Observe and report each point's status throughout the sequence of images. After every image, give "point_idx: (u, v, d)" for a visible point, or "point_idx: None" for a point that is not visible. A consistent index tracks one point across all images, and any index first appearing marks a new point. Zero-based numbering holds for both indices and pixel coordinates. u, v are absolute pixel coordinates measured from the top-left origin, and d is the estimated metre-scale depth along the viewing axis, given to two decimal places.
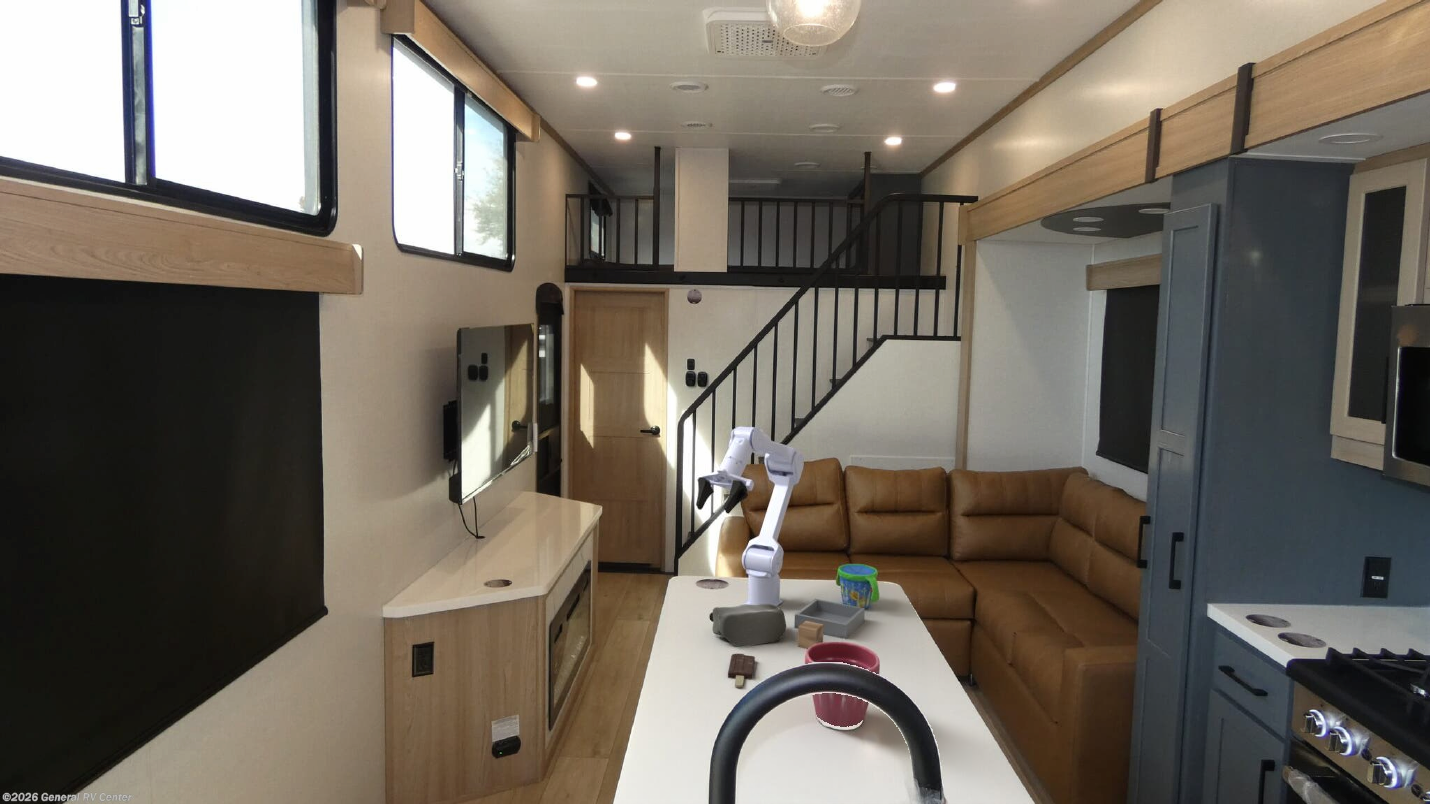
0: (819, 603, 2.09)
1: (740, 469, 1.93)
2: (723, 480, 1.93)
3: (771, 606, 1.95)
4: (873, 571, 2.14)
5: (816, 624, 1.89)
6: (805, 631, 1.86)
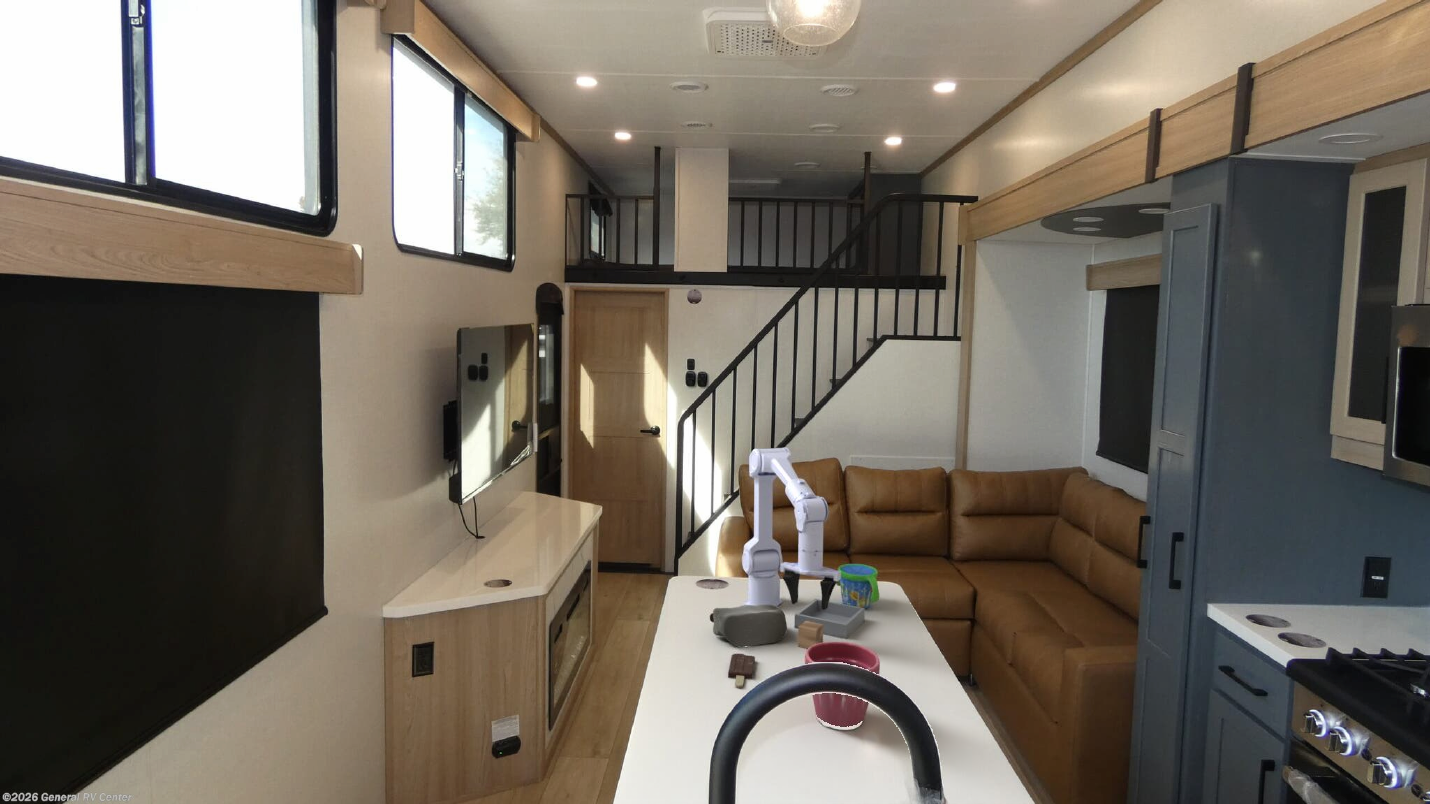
0: (819, 603, 2.09)
1: (820, 557, 1.84)
2: None
3: (771, 606, 1.94)
4: (873, 571, 2.14)
5: (816, 624, 1.89)
6: (805, 631, 1.86)
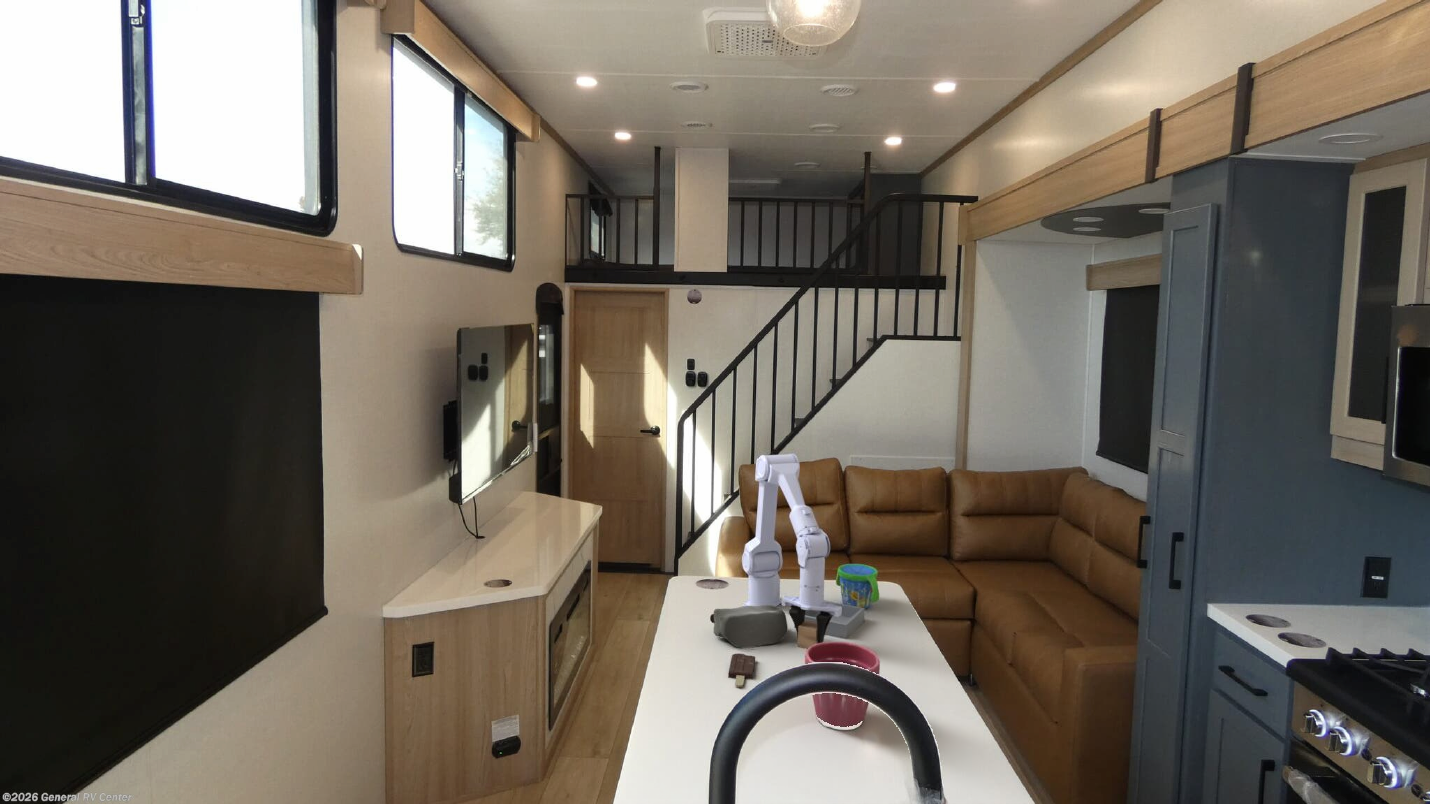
0: None
1: (821, 593, 1.85)
2: None
3: (772, 607, 1.94)
4: (873, 571, 2.14)
5: (816, 623, 1.89)
6: (805, 631, 1.86)
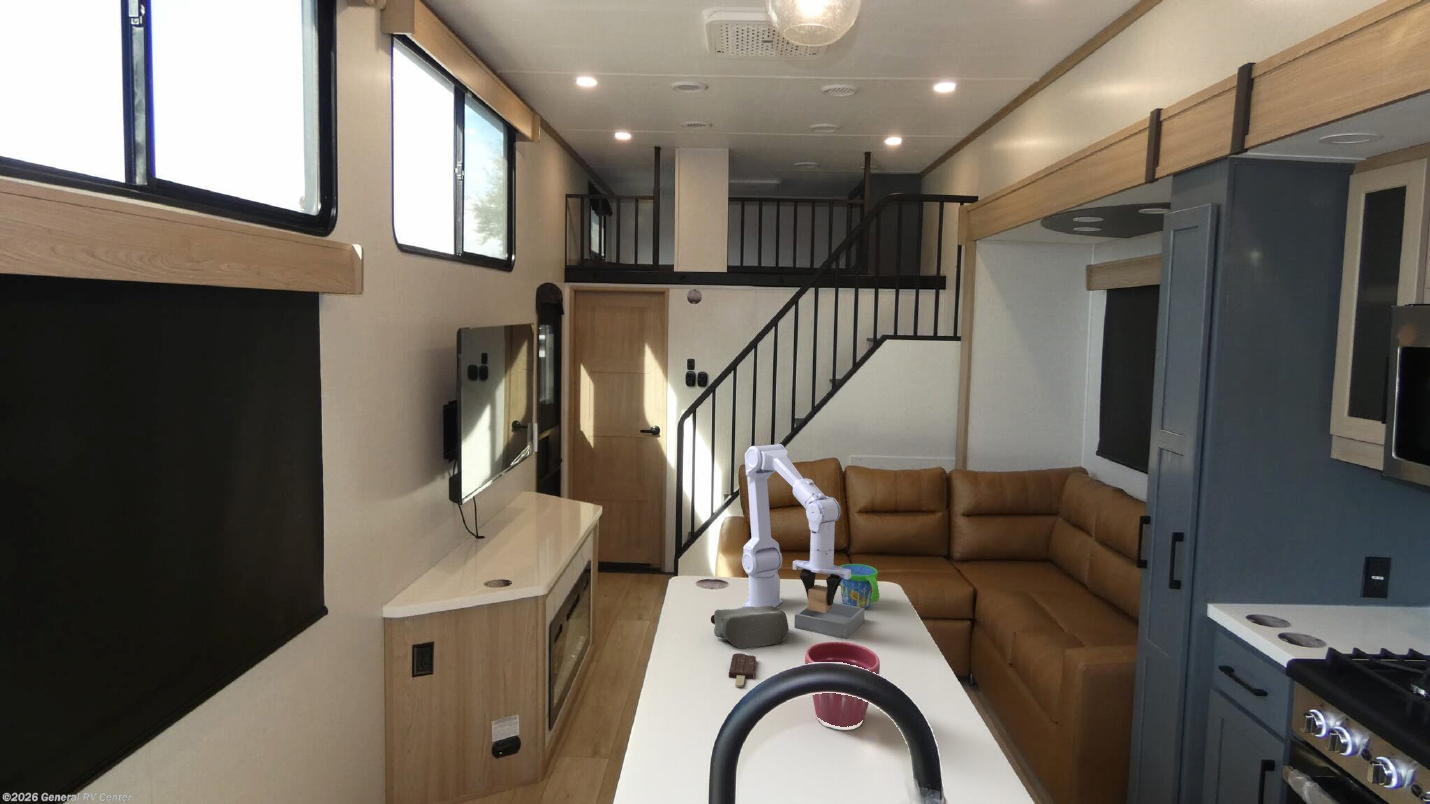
0: None
1: (831, 556, 1.91)
2: None
3: (773, 608, 1.94)
4: (873, 571, 2.14)
5: (825, 587, 1.94)
6: (815, 594, 1.92)
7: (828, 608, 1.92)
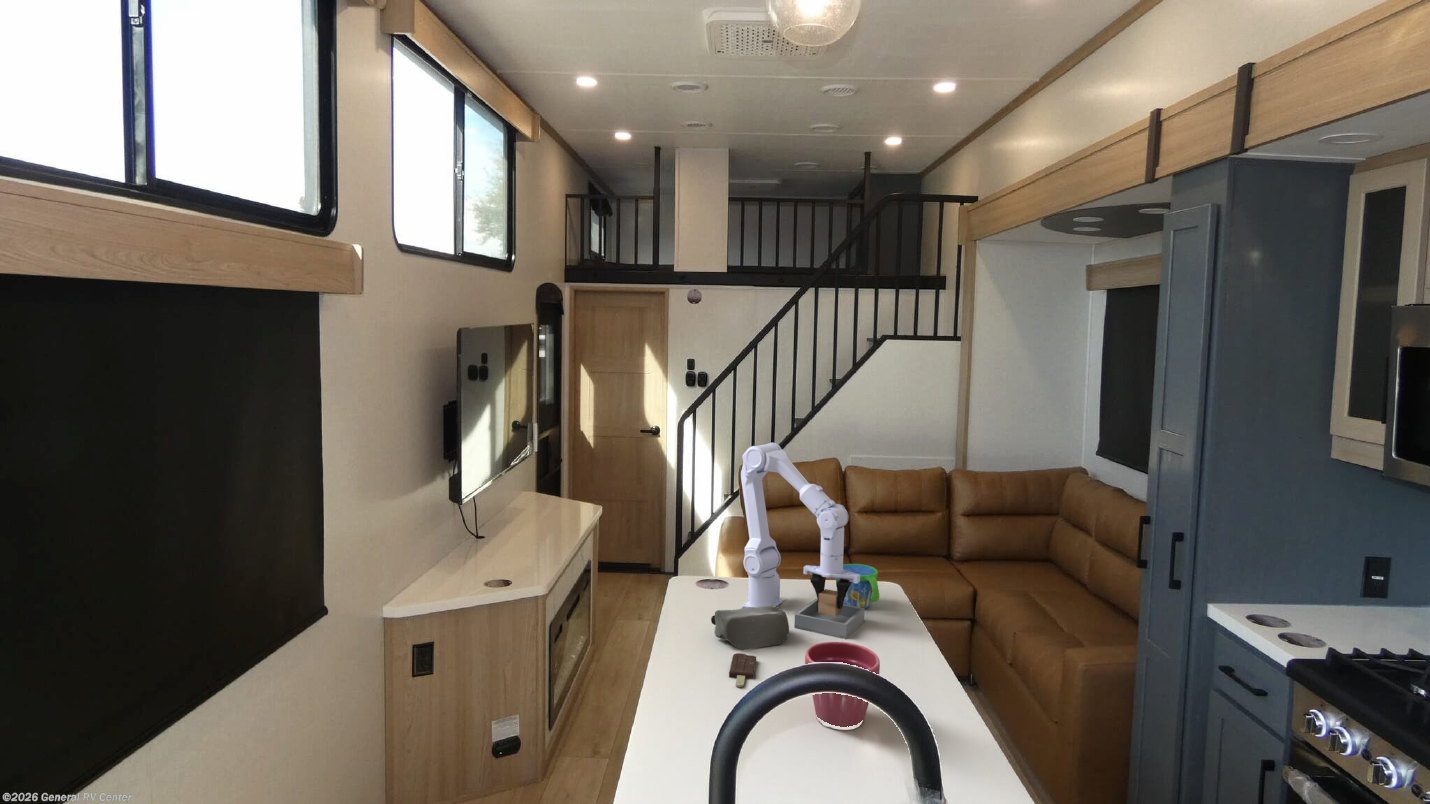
0: None
1: (840, 561, 1.98)
2: None
3: (773, 608, 1.93)
4: (873, 571, 2.14)
5: (835, 591, 2.02)
6: (825, 598, 1.99)
7: (838, 612, 2.00)
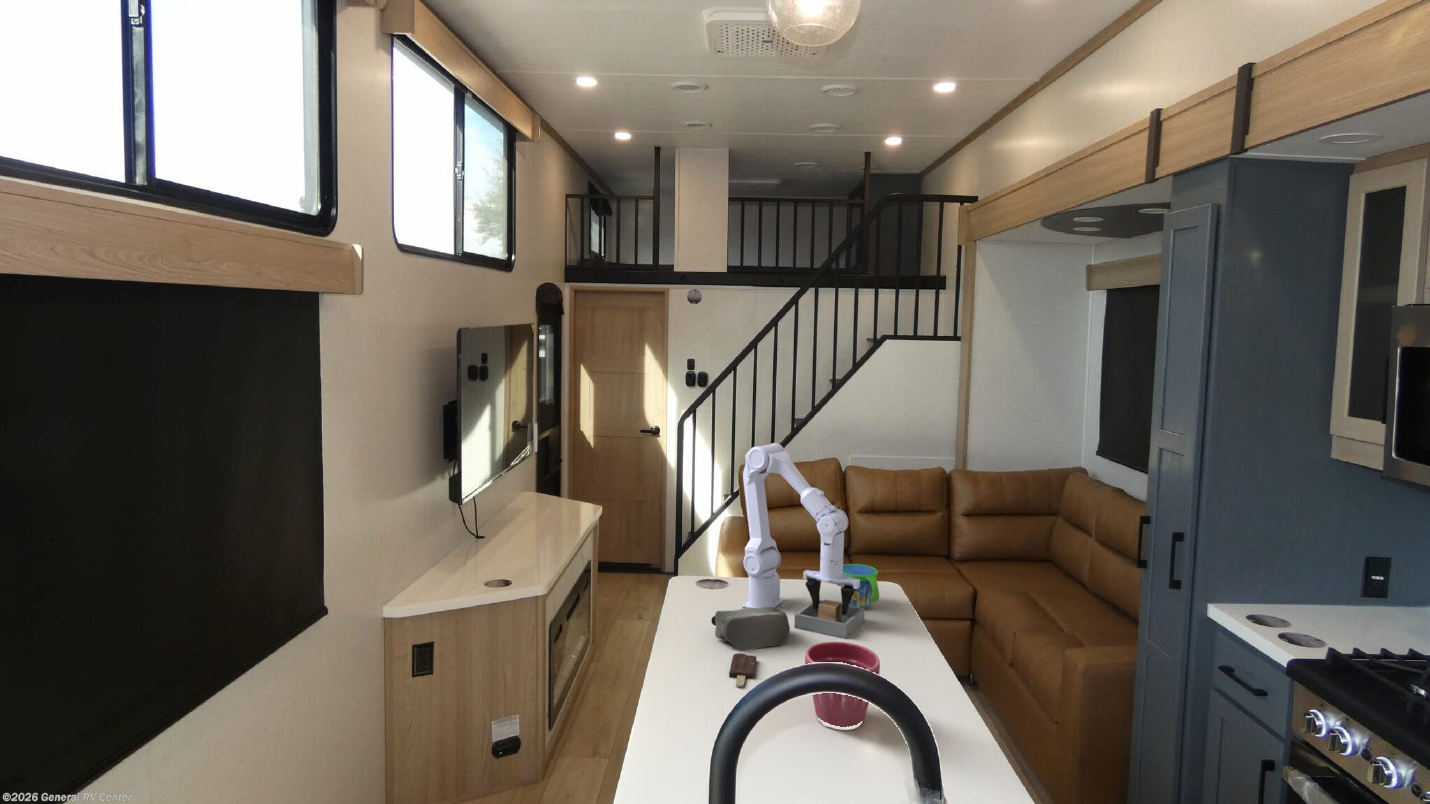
0: (819, 603, 2.09)
1: (840, 566, 1.98)
2: None
3: (774, 609, 1.93)
4: (873, 571, 2.14)
5: (834, 602, 2.02)
6: (825, 609, 1.99)
7: None
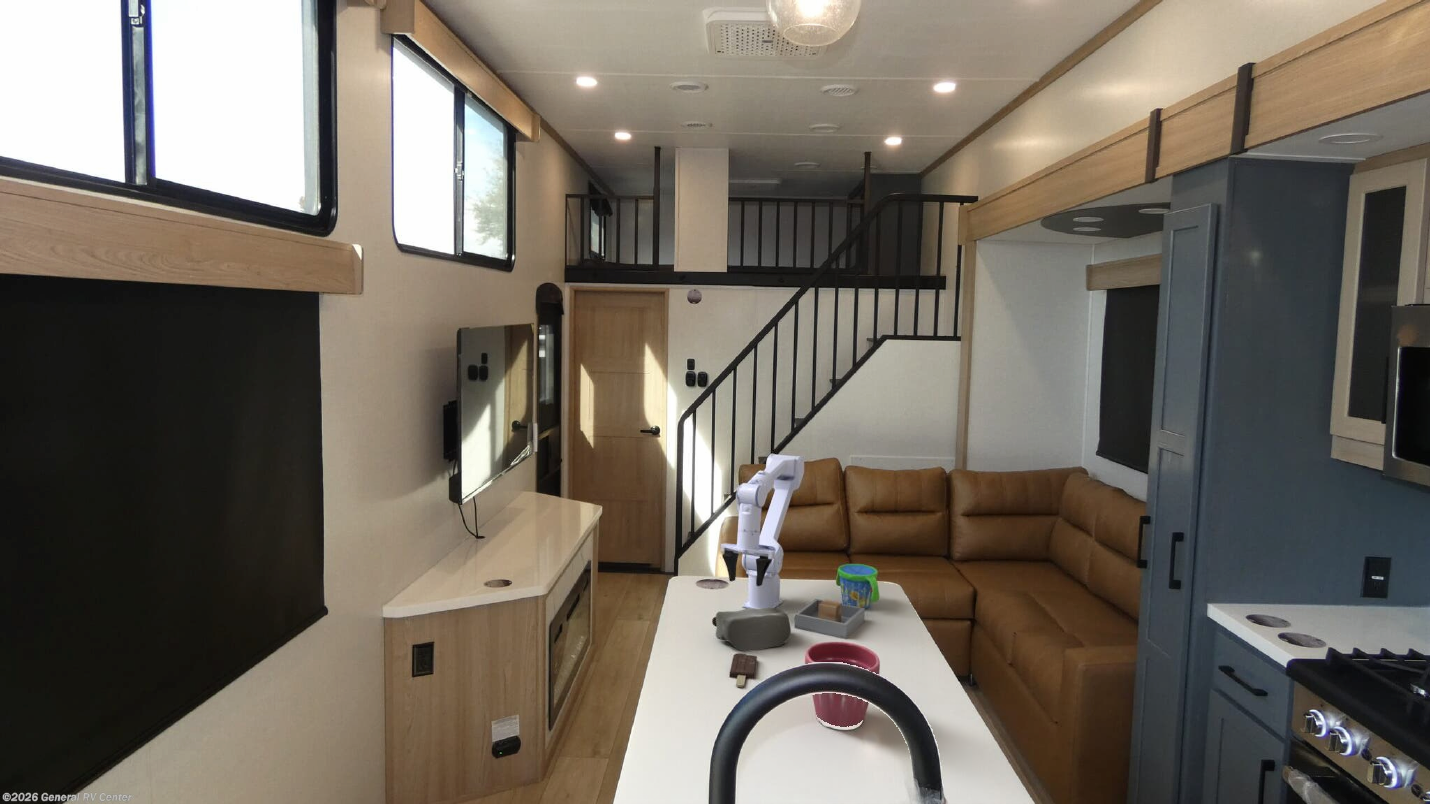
0: (819, 603, 2.09)
1: (757, 537, 2.02)
2: None
3: (775, 610, 1.92)
4: (873, 571, 2.14)
5: (834, 602, 2.02)
6: (825, 609, 1.99)
7: None
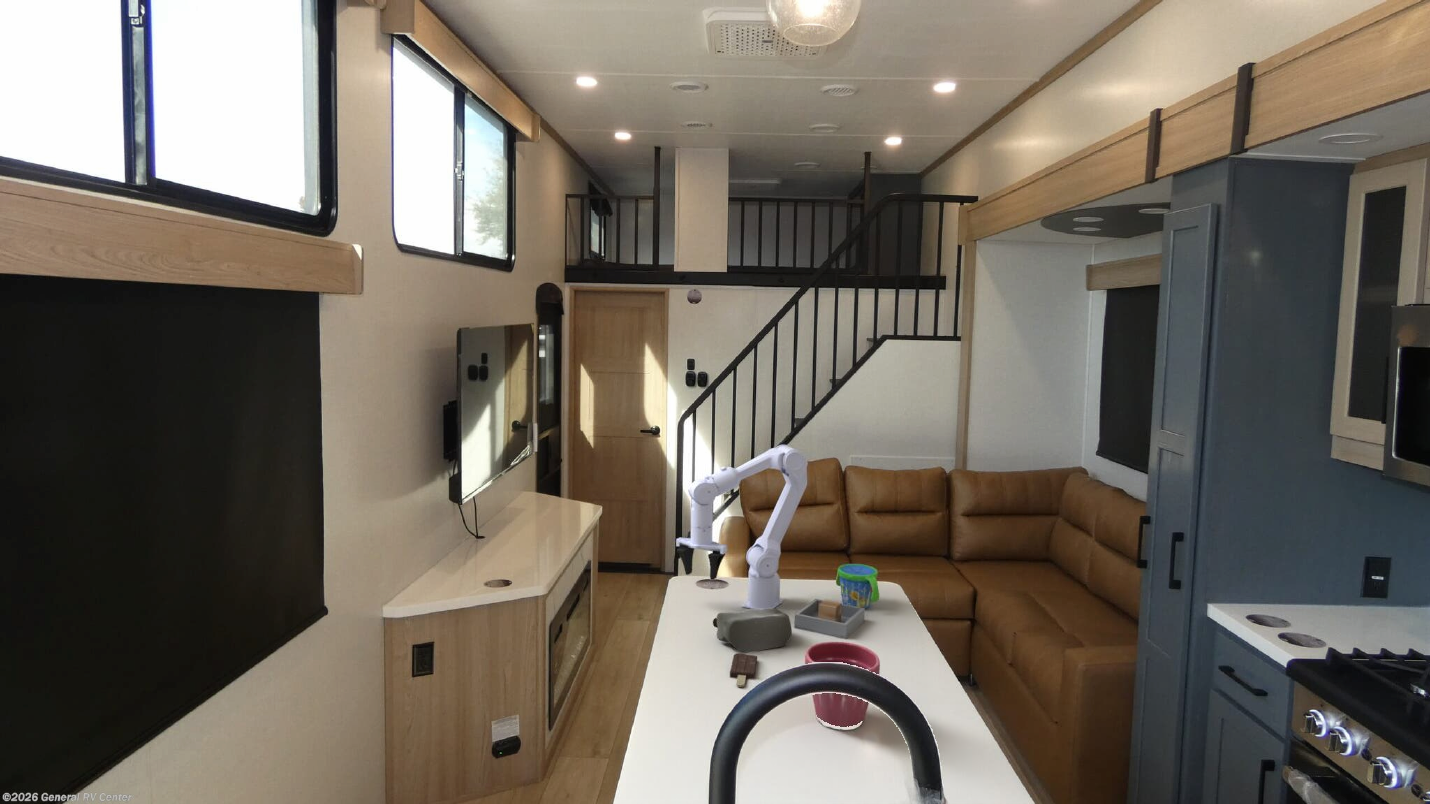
0: (819, 603, 2.09)
1: (709, 533, 2.06)
2: None
3: (775, 610, 1.92)
4: (873, 571, 2.14)
5: (834, 602, 2.02)
6: (825, 609, 1.99)
7: None
